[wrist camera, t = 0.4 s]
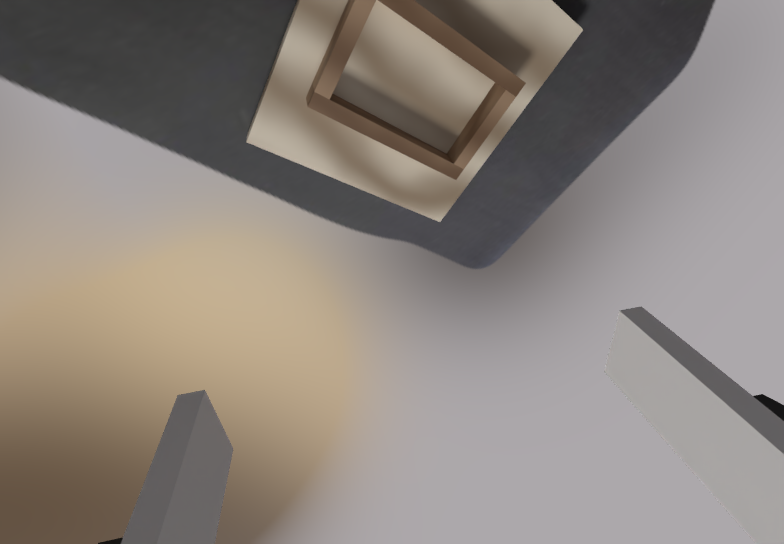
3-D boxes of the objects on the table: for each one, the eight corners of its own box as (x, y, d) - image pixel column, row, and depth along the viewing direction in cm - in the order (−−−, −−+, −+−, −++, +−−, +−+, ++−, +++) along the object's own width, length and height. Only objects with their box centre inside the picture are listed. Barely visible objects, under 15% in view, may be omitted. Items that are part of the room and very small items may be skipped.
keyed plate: (361, -171, 23) (372, -181, 20) (572, 25, 32) (598, 35, 30) (247, 134, 33) (245, 153, 30) (435, 214, 42) (446, 233, 40)
